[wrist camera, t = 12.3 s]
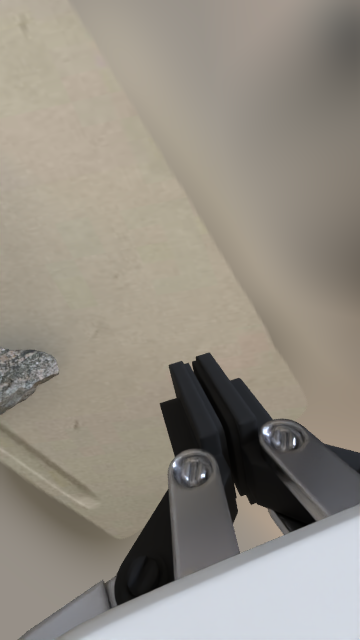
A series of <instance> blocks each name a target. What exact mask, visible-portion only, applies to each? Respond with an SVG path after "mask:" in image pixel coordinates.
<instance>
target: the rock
mask: <svg viewBox="0 0 360 640" xmlns="http://www.w3.org/2000/svg"><path fill="white" fill-rule="evenodd" d="M58 374H59V369H58V364H57V362H56V360H55V358H54V357H53V356H52V355H49V354H47V353H45V352H40V351H36V350H16V351H11V350H9V349H4V348H0V415H1V414H3V413H4V412H5V411H6V410H8V409H10V408H12V407H13V406H15V405H16V404H17V403H19V402H22V401H24V400H26V399H27V398H28V397H29V396H31V395H32V394H33V393H34V392H35V390H36V386H37V385H38V384H41V383H44V382H46V381H48V380H49V379H51V378H53V377H54V376H56V375H58Z"/></svg>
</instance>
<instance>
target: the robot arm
mask: <svg viewBox="0 0 360 640" xmlns="http://www.w3.org/2000/svg"><path fill="white" fill-rule="evenodd" d="M192 365H193V370H194V372H193V370H192V369H191V367H190V365H189V363H186V364H184V363H183V362H182V361H180V362H177V363H174V364H170V365H169V369H170V373H171V377H172V381H173V385H174V389H175V393H176V397H177V398H175V399H172V400H169V401H166V402H163V403H160V406H161V410H162V413H163V417H164V420H165V424H166V427H167V431H168V434H169V438H170V441H171V445H172V448H173V452H174V455H175V458H174V459H173V460H172V461H171V463H170V466H169V468H168V488H169V489H168V490H167V492H166V493H165V495H164V497H163V498H162V500H161V502H160V503H159V505H158V506H157V508H156V510H155V511H154V513H153V514H152V516H151V518H150V519H149V521H148V522H147V524H146V526H145V527H144V529H143V530H142V532H141V534H140V535H139V537H138V538H137V540H136V542H135V543H134V545H133V546H132V548H131V550H130V551H129V553H128V555H127V556H126V558H125V559H124V561H123V563H122V564H121V566H120V569H119V571H118V573H117V575H116V576H115V577H114V578H112V579H111V580H109V581H108V582H106V583H104V581H103V580H102V581H100V582H99V583H97V584H96V585H94V586H93V587H91V588H90V589H88V590H87V591H85V592H84V593H83V594H81V595H80V596H78V597H77V598H76V599H74V600H72V601H71V602H70V603H68V604H66V605H65V606H64V607H62V608H61V609H59V610H58V611H56V612H55V613H53V614H52V615H51V616H49V617H48V618H46V619H45V620H43V621H42V622H40V623H39V624H38V625H36V626H34V627H33V628H31V629H30V630H29V631H27V632H26V633H25V634H24V635H23V636H22V637H20V638H19V639H18V640H360V453H358V452H354V451H351V450H346V449H343V448H339V447H335V446H330V445H327V444H324V443H322V442H321V441H320V440H319V439H318V438H316V437H315V436H314V435H313V434H312V433H311V432H309V431H308V430H307V429H306V428H305V427H304V426H302V425H301V424H299V423H297V422H295V421H292V420H289V419H274V420H273V419H272V418H271V417H270V415H269V414H268V413H267V411H266V410H265V409H264V408H263V406H262V405H261V404H260V403H259V401H258V400H257V399H256V397H255V396H254V395H253V394H252V392H251V391H250V390H249V389H248V387H247V386H246V385H245V383H244V382H243V381H242V380H241V379H240V378H237V379H234V380H231V381H230V380H229V379H228V377H227V376H226V375H225V373H224V372H223V370H222V369H221V368H220V366H219V365H218V363H217V362H216V361H215V359H214V358H213V356H212V355H211V354H210V353H206V354H203V355H200V356H196V361H193V362H192ZM234 484H235V485H236V488H237V490H238V492H239V494H240V496H243V495H246V496H247V498H248V500H249V502H250V504H251V505H252V504H254V503H257V504H258V505H261V506H263V507H266V508H268V512H269V514H270V516H271V518H272V519H273V520H274V522H275V523H276V525H277V526H278V527H279V529H280V530H281V531H282V533H283V534H284V535H283V536H281V537H278V538H276V539H273V540H271V541H269V542H266V543H264V544H261V545H259V546H257V547H254V548H252V549H249V550H247V551H245V552H242V553H240V551H239V547H238V543H237V539H236V535H235V531H234V527H233V522H234V520H235V518H236V515H237V513H238V509H237V504H236V492H235V487H234Z"/></svg>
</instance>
